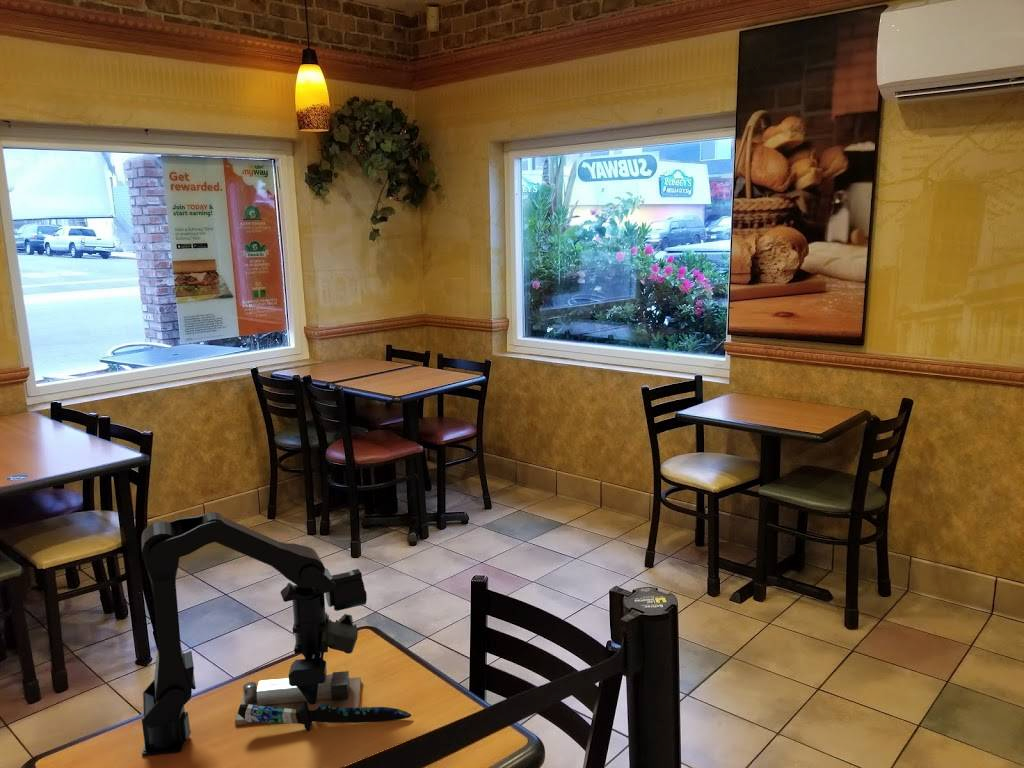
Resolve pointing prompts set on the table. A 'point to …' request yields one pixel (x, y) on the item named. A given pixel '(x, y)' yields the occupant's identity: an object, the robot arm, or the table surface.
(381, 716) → the knife
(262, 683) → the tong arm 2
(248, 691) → the tong hinge
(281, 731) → the table surface
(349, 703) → the flat board
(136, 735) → the table surface
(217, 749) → the table surface
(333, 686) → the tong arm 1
